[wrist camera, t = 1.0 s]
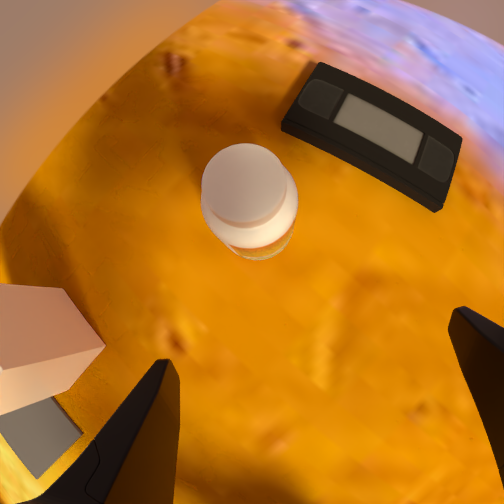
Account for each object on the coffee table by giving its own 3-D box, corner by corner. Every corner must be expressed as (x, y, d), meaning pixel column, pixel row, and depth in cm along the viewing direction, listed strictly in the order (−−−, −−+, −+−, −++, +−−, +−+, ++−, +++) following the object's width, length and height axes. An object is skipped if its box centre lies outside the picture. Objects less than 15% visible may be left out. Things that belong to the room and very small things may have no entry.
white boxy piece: (106, 345, 24) (3, 370, 12) (68, 389, 24) (-27, 424, 12) (62, 288, 25) (-42, 279, 13) (29, 334, 25) (-67, 343, 13)
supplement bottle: (307, 217, 24) (325, 168, 14) (264, 275, 24) (255, 262, 14) (250, 177, 25) (233, 111, 15) (207, 232, 24) (164, 194, 15)
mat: (83, 433, 23) (81, 435, 23) (38, 478, 23) (36, 479, 22) (12, 336, 25) (10, 336, 24) (-21, 395, 24) (-23, 396, 24)
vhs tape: (317, 74, 26) (319, 61, 24) (453, 147, 24) (462, 138, 22) (281, 133, 26) (281, 121, 24) (432, 214, 24) (442, 208, 22)
